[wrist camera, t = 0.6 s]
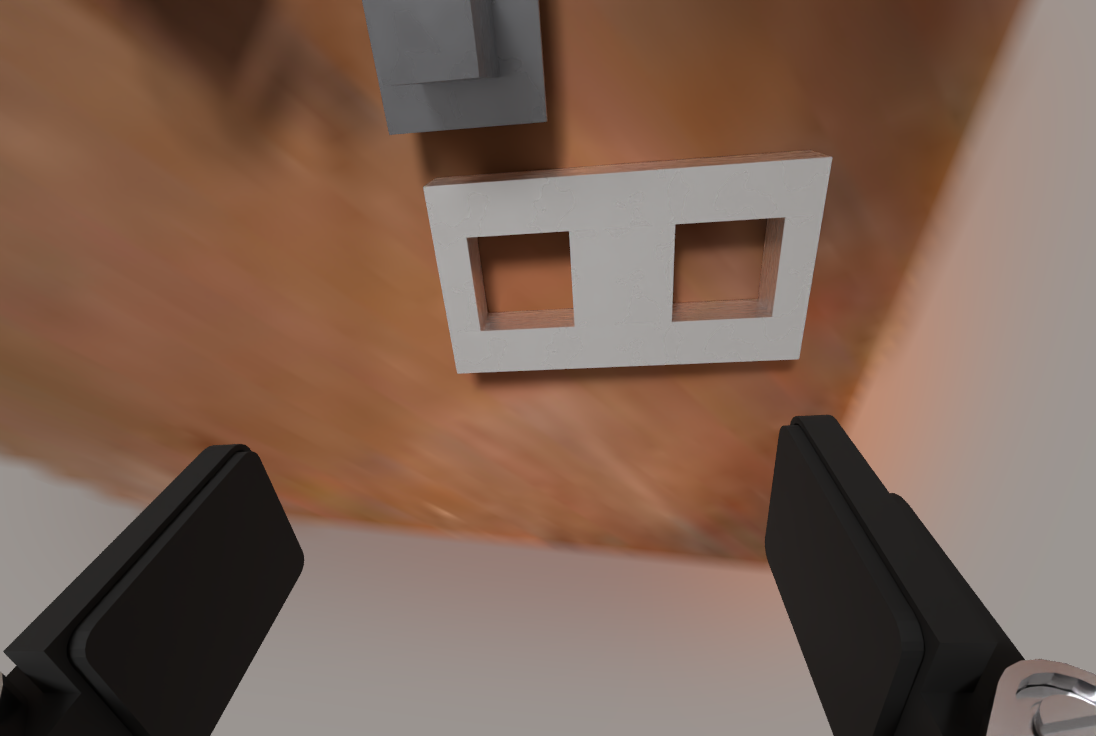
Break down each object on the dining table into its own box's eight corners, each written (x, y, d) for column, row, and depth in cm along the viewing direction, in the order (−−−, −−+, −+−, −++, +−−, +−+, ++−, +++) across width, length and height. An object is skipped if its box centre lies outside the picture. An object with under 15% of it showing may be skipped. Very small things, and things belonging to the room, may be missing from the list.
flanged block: (374, -50, 27) (284, -105, 19) (537, -69, 26) (517, -134, 18) (407, 129, 31) (345, 147, 23) (550, 117, 30) (538, 132, 22)
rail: (436, 177, 32) (423, 186, 30) (810, 149, 30) (832, 156, 28) (465, 352, 38) (457, 373, 35) (783, 338, 36) (798, 359, 34)
